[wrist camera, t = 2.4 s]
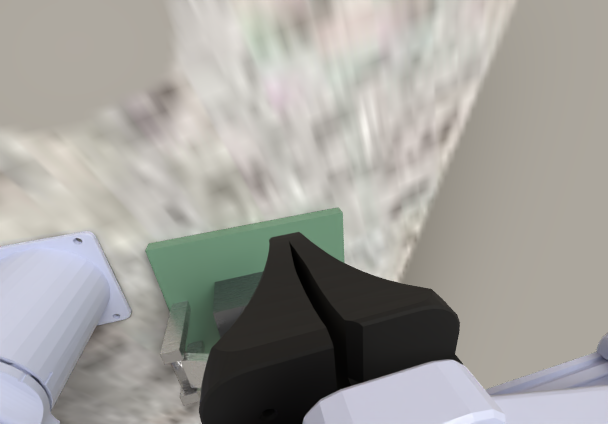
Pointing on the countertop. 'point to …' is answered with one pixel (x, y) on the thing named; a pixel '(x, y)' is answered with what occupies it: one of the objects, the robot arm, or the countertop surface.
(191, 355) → the retention strap
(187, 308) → the board
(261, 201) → the countertop surface
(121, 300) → the robot arm
